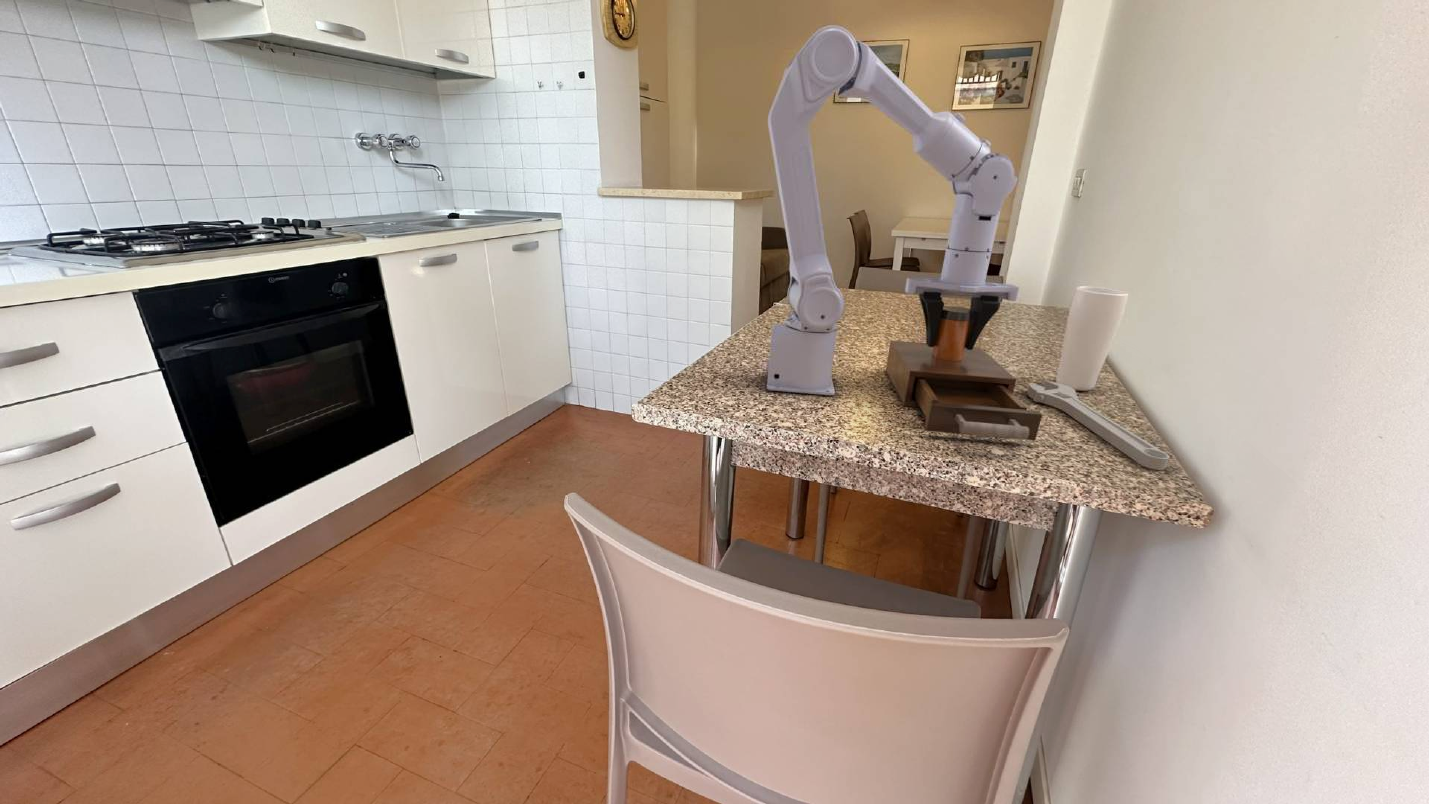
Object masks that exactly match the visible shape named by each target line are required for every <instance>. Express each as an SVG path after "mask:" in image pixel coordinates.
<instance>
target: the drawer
mask: <svg viewBox="0 0 1429 804" xmlns="http://www.w3.org/2000/svg"><path fill="white" fill-rule="evenodd" d="M912 394H913V396H914V397H915V399H916V401H917V403H918V404H919V406H920V407H919V408H920V410H921V412H922V413H923V415H924V416H925V422H924V426H923V427H924V429H925V431H927V432H937V433H945V434H947V433H948V434H959V435H968V436H969V435H970V436H982V437H992V438H993V437H994V438H1003V439H1004V438H1005V439H1013V440H1014V439H1016V440H1024V441H1025V440H1027V441H1036V440H1037V435H1038V432H1039V429H1040V425H1041V422H1042V418H1043V413H1041V412H1040V411H1039V410H1031V409H1028V407H1027V406H1026V405H1025V404H1024V403H1023V402H1022V401H1021V400H1020V399H1018V398H1017V397H1016V396H1015V395H1014V393H1013V394H1012V393H1011V392H1010V391H1009V390H1008V389H1007V388H1006V387H1005V386H1003V385H1002V384H1000V383H988V382H975V381H963V380H951V379H938V378H926V377H915V380H914V386H913V391H912Z"/></svg>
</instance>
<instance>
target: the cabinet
mask: <svg viewBox="0 0 1429 804" xmlns="http://www.w3.org/2000/svg"><path fill="white" fill-rule="evenodd" d="M932 351H933V347H929V346H928V345H927V344H926V342H919V341H918V342H917V341H905V340H903V341H902V340H890V342H889V348H888V354H887V360H886V367H885V372H886V374H887V376H888V378H889V381H890V382H891V385H892V386H893V388H894V390H895V392H896V393H897V394H896V395H898V397H899V399H900V402H901V403H902V405H903V406H904V407H910V408H920V406H919V404H918V403H917V401H916V399H915V397H914V396H913V394H912V391H913V386H914V380H915V377H926V378H938V379H951V380H963V381H975V382H988V383H1000V384H1002V385H1003V386H1005V387H1006V388H1007V389H1008V390H1009V391H1010V392H1011V393H1012V394H1013V395H1014V391H1015V387H1016V384H1017V380H1018V379H1017V377H1015V376H1014V375H1013V374H1012V373H1010V372H1009V371H1008V370H1007V369H1006V368H1005V367H1003V366H1002V365H1001V364H1000V363H999V362H998V361H996V360H995V359H994V358H993V357H992V356H991V355H989V353H987V352H986V351H985V350H983V349H982V348H981V347H980V346H974V347H973V350H967V349H966V348H965V350H964V355H963V359H962V360H961V361H946V360H941V359H938V358H935V357H933V356H932Z"/></svg>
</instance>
